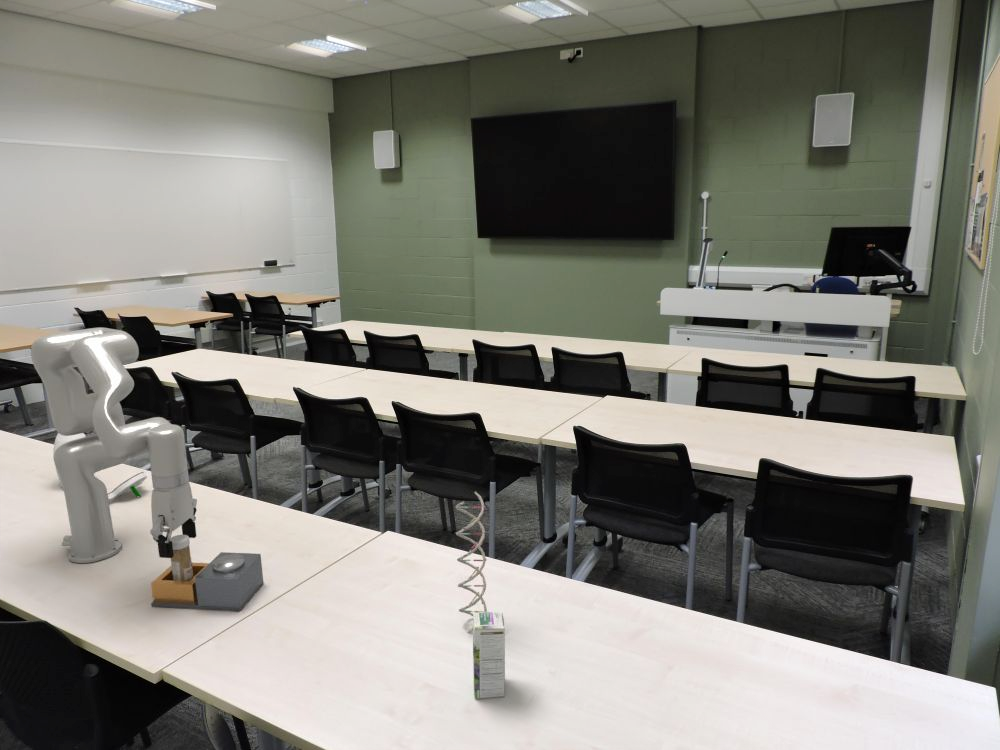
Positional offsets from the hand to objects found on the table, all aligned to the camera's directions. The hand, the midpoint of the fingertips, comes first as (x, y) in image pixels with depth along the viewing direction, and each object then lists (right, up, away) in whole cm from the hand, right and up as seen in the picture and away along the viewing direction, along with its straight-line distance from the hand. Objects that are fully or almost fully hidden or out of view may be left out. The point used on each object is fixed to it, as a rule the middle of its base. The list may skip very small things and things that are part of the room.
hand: (178, 546), depth 163 cm
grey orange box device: (+7, -12, +3) cm, 14 cm away
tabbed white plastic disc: (-43, +1, +61) cm, 75 cm away
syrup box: (+73, -19, -32) cm, 82 cm away
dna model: (+70, -14, -12) cm, 72 cm away
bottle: (-66, +3, +70) cm, 97 cm away
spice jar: (+1, -11, +2) cm, 11 cm away
